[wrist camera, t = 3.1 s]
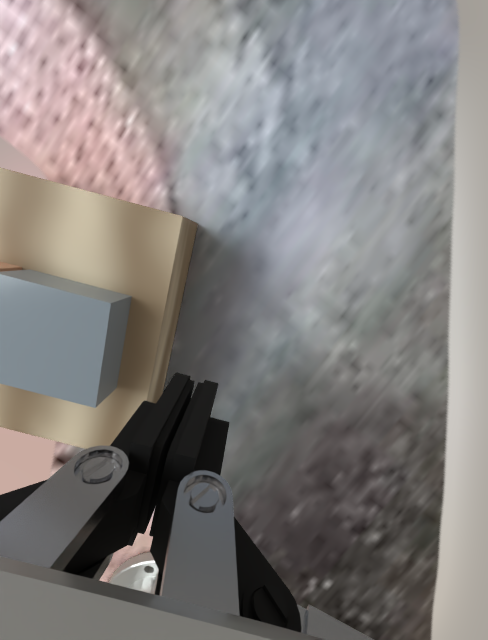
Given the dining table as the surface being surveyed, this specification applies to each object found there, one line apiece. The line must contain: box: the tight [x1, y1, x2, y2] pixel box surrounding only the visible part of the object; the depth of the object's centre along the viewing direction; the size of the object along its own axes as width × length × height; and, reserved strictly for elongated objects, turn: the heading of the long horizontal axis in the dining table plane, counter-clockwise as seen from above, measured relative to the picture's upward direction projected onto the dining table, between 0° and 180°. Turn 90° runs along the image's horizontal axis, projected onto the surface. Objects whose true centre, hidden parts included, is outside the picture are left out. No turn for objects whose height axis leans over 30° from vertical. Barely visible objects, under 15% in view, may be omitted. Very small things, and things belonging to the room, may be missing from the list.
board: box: [0, 168, 198, 449], centre depth 19 cm, size 16×16×4 cm
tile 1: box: [0, 269, 132, 408], centre depth 16 cm, size 6×6×2 cm
